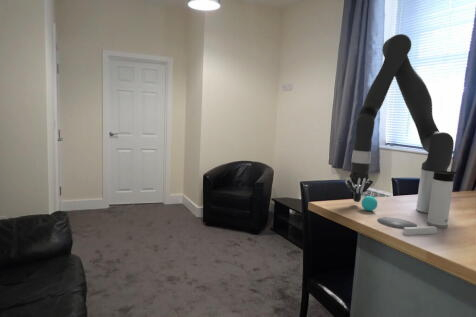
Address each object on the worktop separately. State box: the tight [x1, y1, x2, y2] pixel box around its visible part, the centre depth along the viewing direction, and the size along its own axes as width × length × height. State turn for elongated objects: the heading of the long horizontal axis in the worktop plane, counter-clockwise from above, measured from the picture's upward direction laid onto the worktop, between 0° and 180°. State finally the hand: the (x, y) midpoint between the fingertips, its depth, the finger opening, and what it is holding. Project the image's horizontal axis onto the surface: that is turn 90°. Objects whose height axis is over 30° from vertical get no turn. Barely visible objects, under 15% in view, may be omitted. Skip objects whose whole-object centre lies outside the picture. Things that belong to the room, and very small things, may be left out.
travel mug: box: [426, 170, 457, 229], centre depth 120 cm, size 6×7×20 cm
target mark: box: [377, 216, 418, 230], centre depth 122 cm, size 13×13×1 cm
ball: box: [361, 195, 378, 212], centre depth 137 cm, size 6×6×6 cm
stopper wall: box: [402, 225, 438, 236], centre depth 112 cm, size 12×2×2 cm, turn 106°
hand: (356, 201), depth 145 cm, fingers closed
